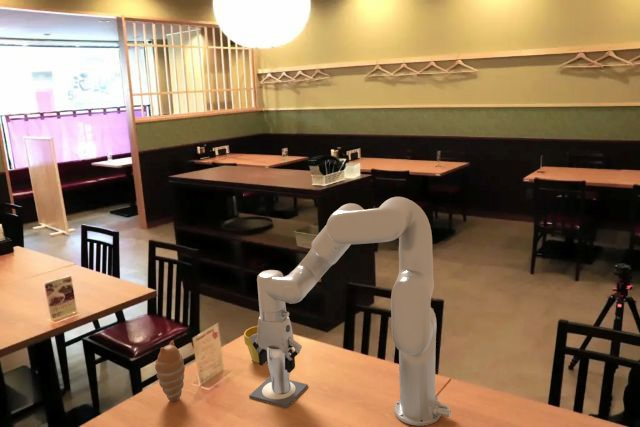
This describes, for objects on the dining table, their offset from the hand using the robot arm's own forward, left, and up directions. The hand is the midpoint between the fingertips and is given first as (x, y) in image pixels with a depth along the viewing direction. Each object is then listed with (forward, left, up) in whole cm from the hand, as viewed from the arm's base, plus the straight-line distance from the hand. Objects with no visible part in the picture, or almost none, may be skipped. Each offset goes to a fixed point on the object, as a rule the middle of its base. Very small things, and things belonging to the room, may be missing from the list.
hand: (277, 367), depth 156 cm
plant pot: (+17, -15, -8) cm, 24 cm away
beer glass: (-1, 0, -8) cm, 8 cm away
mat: (0, 0, -8) cm, 8 cm away
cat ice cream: (+27, +16, -8) cm, 32 cm away
